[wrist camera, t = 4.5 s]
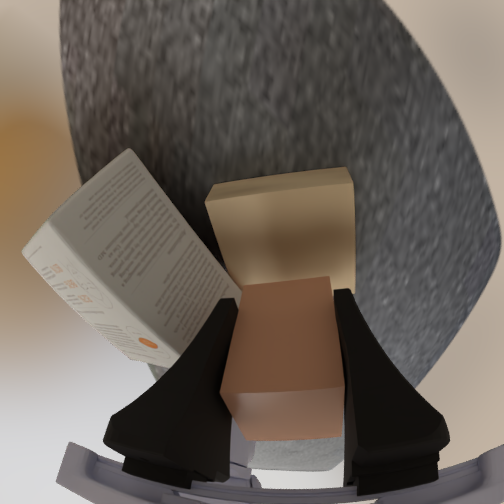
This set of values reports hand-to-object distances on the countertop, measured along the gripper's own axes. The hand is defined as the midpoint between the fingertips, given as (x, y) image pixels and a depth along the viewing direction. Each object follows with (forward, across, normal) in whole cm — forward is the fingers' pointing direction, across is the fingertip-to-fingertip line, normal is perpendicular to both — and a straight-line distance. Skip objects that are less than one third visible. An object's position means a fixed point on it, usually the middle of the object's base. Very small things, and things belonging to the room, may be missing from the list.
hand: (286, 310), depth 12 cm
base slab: (+6, 0, 0) cm, 6 cm away
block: (+2, 0, +2) cm, 3 cm away
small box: (+2, +10, -6) cm, 12 cm away
